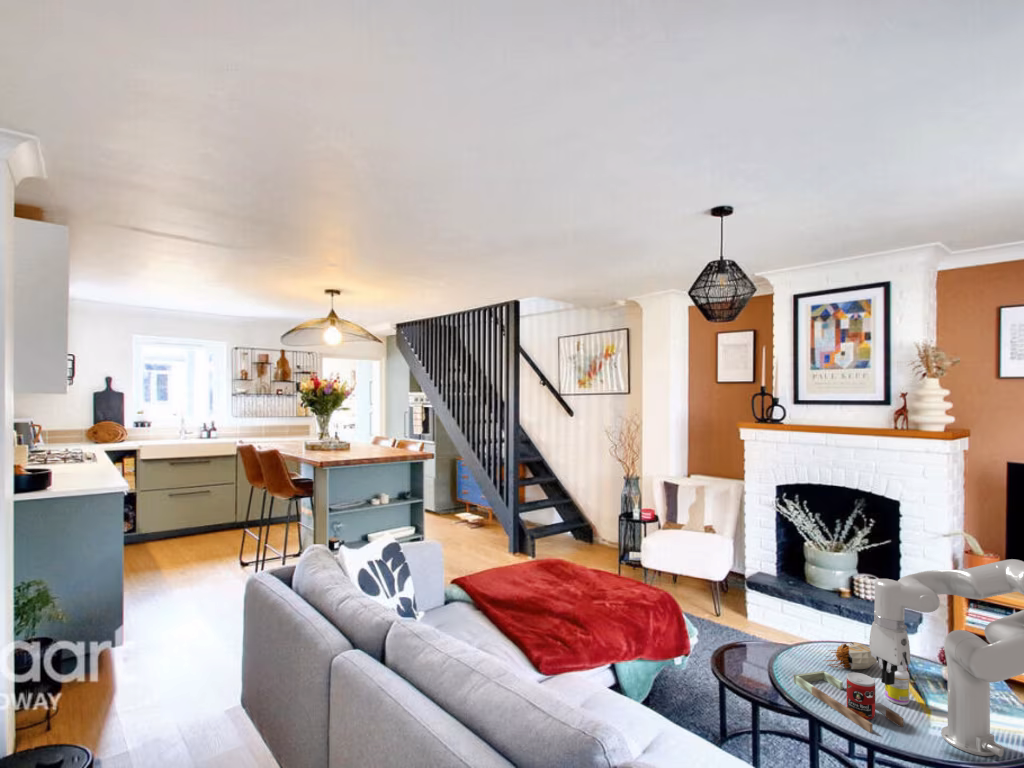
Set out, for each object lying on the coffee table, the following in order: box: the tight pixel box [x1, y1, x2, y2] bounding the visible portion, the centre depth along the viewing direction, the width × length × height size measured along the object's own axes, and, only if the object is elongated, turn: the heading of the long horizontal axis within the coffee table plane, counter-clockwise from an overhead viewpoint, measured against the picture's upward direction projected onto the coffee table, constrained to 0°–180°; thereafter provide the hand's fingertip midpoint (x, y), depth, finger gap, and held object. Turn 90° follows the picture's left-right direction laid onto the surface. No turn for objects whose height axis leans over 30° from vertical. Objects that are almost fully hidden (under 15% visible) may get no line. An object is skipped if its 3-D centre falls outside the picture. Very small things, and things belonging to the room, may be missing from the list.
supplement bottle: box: [884, 665, 910, 706], centre depth 183 cm, size 7×7×13 cm
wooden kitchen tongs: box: [793, 670, 905, 734], centre depth 181 cm, size 30×18×2 cm, turn 15°
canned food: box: [846, 672, 876, 721], centre depth 175 cm, size 8×8×11 cm
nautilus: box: [823, 641, 878, 670], centre depth 207 cm, size 8×22×15 cm
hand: (887, 683), depth 166 cm, fingers closed
